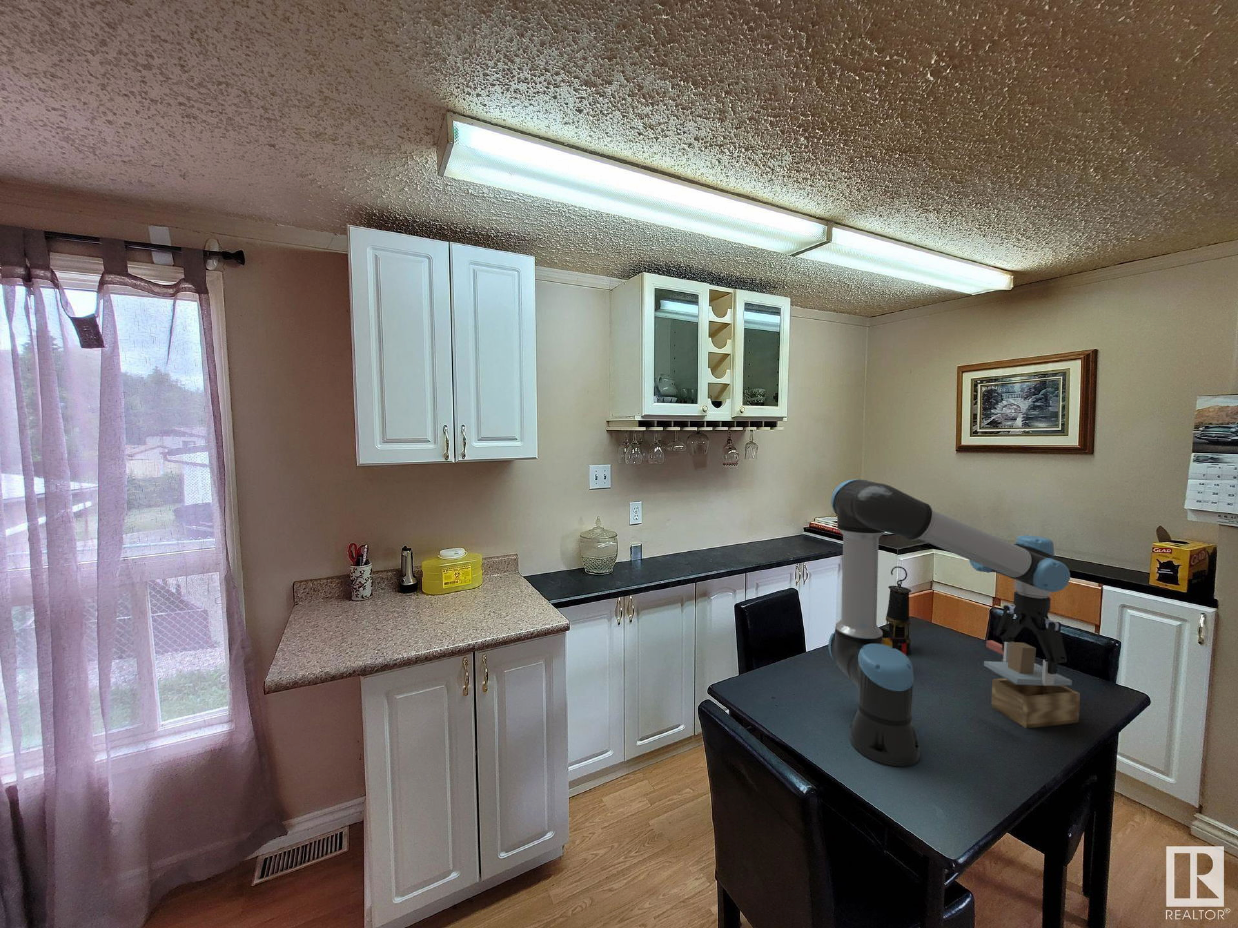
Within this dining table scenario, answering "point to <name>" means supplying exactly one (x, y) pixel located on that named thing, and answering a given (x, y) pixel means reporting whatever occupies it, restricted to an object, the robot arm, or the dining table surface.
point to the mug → (893, 640)
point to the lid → (1023, 667)
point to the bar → (994, 646)
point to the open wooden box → (1035, 703)
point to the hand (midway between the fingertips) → (1027, 674)
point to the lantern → (899, 613)
